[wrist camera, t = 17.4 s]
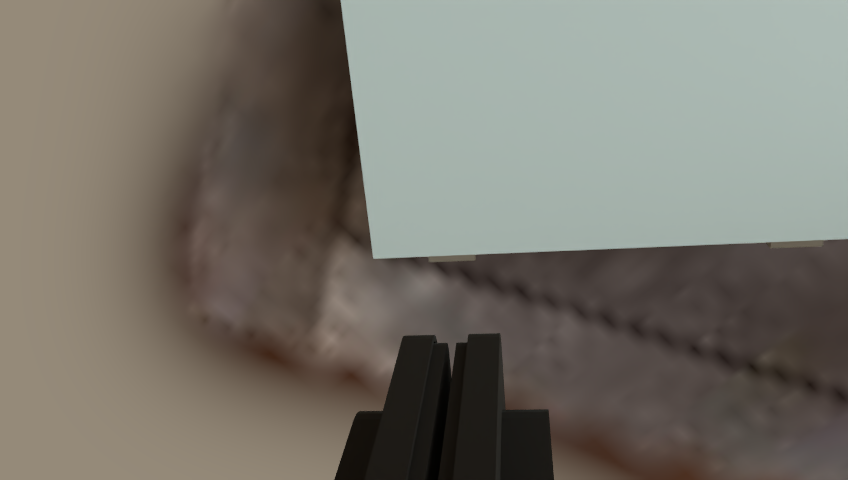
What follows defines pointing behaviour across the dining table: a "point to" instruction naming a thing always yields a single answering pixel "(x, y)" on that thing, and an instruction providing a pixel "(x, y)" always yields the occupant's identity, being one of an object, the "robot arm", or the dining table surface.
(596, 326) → the dining table surface
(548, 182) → the lid
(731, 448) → the dining table surface
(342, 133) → the dining table surface
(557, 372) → the dining table surface
